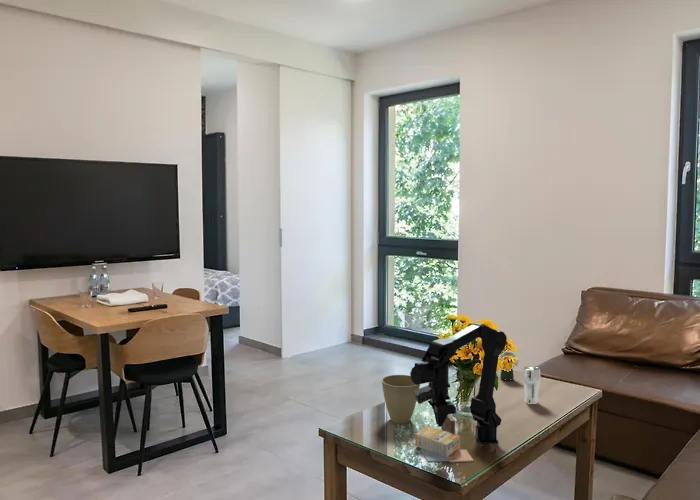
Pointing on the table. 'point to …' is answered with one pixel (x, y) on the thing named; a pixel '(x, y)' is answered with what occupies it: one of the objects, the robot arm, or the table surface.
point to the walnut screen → (449, 424)
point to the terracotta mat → (460, 456)
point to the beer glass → (531, 383)
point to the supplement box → (437, 441)
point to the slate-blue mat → (434, 456)
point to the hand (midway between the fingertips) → (439, 425)
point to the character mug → (509, 374)
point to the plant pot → (399, 397)
